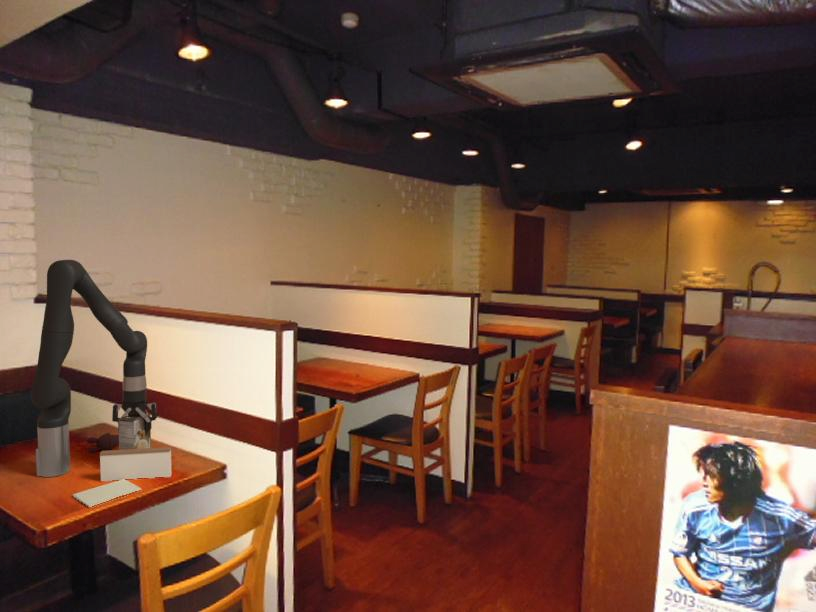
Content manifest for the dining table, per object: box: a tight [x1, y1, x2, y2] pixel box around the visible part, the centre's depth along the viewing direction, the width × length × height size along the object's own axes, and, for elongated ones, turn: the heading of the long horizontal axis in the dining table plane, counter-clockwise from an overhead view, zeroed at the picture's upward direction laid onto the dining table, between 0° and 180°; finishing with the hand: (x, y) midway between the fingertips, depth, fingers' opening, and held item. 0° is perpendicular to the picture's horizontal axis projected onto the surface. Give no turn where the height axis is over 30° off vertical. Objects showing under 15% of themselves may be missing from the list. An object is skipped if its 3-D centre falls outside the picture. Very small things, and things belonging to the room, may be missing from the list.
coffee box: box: [118, 413, 152, 450], centre depth 197 cm, size 9×6×16 cm
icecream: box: [85, 432, 119, 453], centre depth 217 cm, size 7×7×15 cm
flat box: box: [99, 446, 172, 482], centre depth 190 cm, size 22×2×10 cm, turn 103°
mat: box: [72, 479, 142, 508], centre depth 178 cm, size 16×12×1 cm
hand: (135, 432), depth 197 cm, fingers closed on coffee box, 8 cm apart
